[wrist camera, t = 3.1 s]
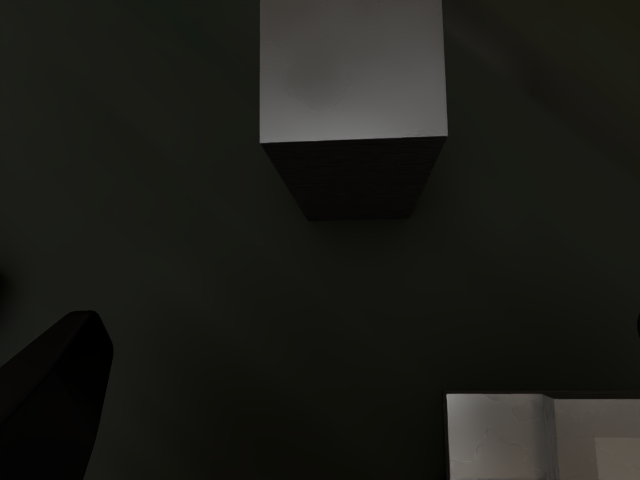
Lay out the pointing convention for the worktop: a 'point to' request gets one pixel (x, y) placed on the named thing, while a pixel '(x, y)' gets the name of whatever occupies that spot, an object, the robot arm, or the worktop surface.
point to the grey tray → (542, 434)
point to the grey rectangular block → (353, 102)
